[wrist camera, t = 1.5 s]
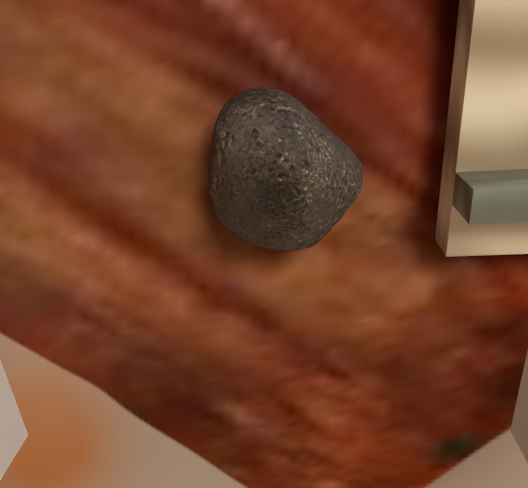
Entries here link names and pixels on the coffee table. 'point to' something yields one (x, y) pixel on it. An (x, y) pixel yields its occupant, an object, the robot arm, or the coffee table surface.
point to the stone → (279, 172)
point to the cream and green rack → (487, 133)
